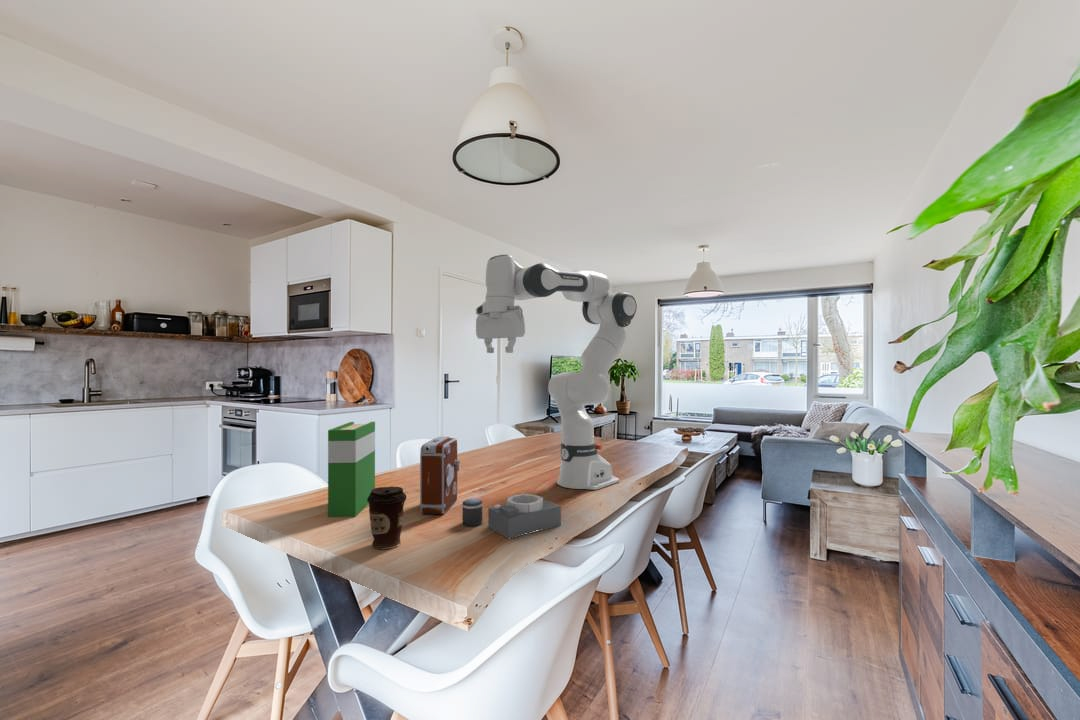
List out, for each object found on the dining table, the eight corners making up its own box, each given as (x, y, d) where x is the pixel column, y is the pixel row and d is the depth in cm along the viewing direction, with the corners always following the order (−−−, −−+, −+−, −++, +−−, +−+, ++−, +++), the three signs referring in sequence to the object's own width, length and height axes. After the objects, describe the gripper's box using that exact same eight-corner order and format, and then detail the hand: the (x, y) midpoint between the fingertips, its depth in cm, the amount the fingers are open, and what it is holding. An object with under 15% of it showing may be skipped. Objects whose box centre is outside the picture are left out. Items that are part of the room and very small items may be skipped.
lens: (476, 518, 125) (476, 496, 125) (486, 524, 121) (486, 501, 121) (458, 522, 122) (458, 500, 122) (468, 528, 118) (468, 505, 118)
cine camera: (466, 496, 146) (466, 433, 146) (447, 516, 127) (447, 444, 127) (437, 495, 147) (437, 432, 147) (415, 515, 128) (415, 443, 128)
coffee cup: (384, 555, 101) (384, 496, 101) (358, 548, 106) (358, 491, 106) (413, 542, 109) (413, 487, 109) (388, 535, 113) (388, 482, 113)
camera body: (538, 514, 128) (538, 489, 128) (560, 525, 120) (560, 498, 120) (488, 527, 119) (488, 500, 119) (509, 539, 111) (509, 510, 111)
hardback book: (350, 498, 144) (350, 421, 144) (374, 497, 144) (374, 421, 144) (328, 517, 126) (328, 430, 126) (355, 516, 127) (355, 430, 127)
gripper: (530, 305, 135) (529, 352, 135) (488, 311, 150) (488, 353, 150) (513, 303, 131) (513, 352, 131) (472, 309, 146) (472, 353, 146)
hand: (499, 353), depth 141 cm, fingers open, 8 cm apart
